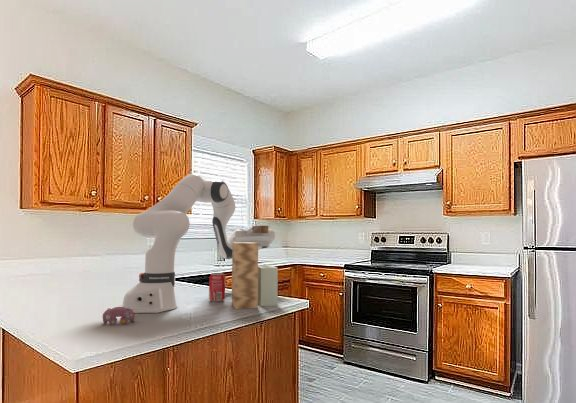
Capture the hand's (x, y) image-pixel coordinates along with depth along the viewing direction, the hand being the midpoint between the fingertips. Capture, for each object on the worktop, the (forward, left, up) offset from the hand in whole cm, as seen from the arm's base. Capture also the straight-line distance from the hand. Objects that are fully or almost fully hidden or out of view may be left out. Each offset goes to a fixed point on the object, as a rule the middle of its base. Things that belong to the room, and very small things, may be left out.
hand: (256, 228), depth 195 cm
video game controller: (-55, -49, -32) cm, 81 cm away
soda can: (-20, -13, -32) cm, 40 cm away
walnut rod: (0, -8, -2) cm, 8 cm away
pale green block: (0, -22, -32) cm, 39 cm away
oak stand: (-10, -27, -32) cm, 43 cm away
